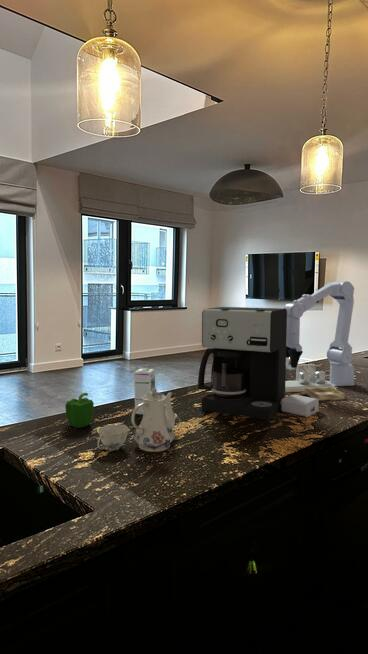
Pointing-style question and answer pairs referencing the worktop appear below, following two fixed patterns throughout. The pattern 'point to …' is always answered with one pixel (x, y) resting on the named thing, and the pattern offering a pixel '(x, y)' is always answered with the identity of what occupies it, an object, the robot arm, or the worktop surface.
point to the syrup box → (143, 385)
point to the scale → (296, 387)
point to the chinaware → (145, 425)
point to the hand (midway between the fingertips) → (291, 366)
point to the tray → (324, 393)
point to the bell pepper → (79, 411)
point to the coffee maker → (244, 360)
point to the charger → (299, 405)
